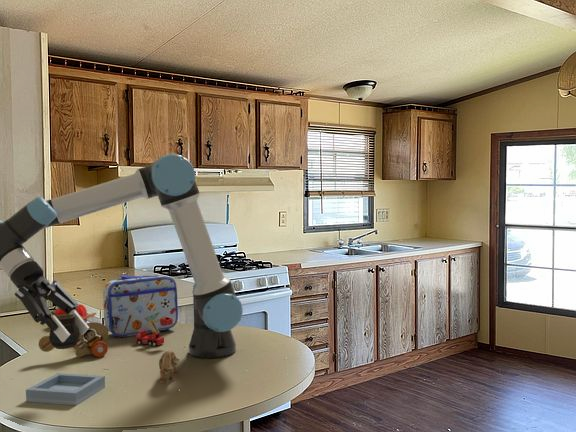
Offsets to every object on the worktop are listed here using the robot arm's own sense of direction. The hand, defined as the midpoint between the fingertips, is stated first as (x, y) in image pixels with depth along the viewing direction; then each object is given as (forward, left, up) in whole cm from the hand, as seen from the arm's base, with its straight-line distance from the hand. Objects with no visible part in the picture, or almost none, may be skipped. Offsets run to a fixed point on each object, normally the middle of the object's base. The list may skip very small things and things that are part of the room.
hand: (76, 334), depth 142 cm
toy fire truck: (+2, -48, -16) cm, 51 cm away
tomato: (+47, -68, -16) cm, 85 cm away
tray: (+3, 0, -16) cm, 16 cm away
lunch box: (+15, -63, -16) cm, 66 cm away
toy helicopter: (+20, -30, -16) cm, 40 cm away
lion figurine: (-18, -17, -16) cm, 29 cm away
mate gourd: (+4, 0, -4) cm, 5 cm away
